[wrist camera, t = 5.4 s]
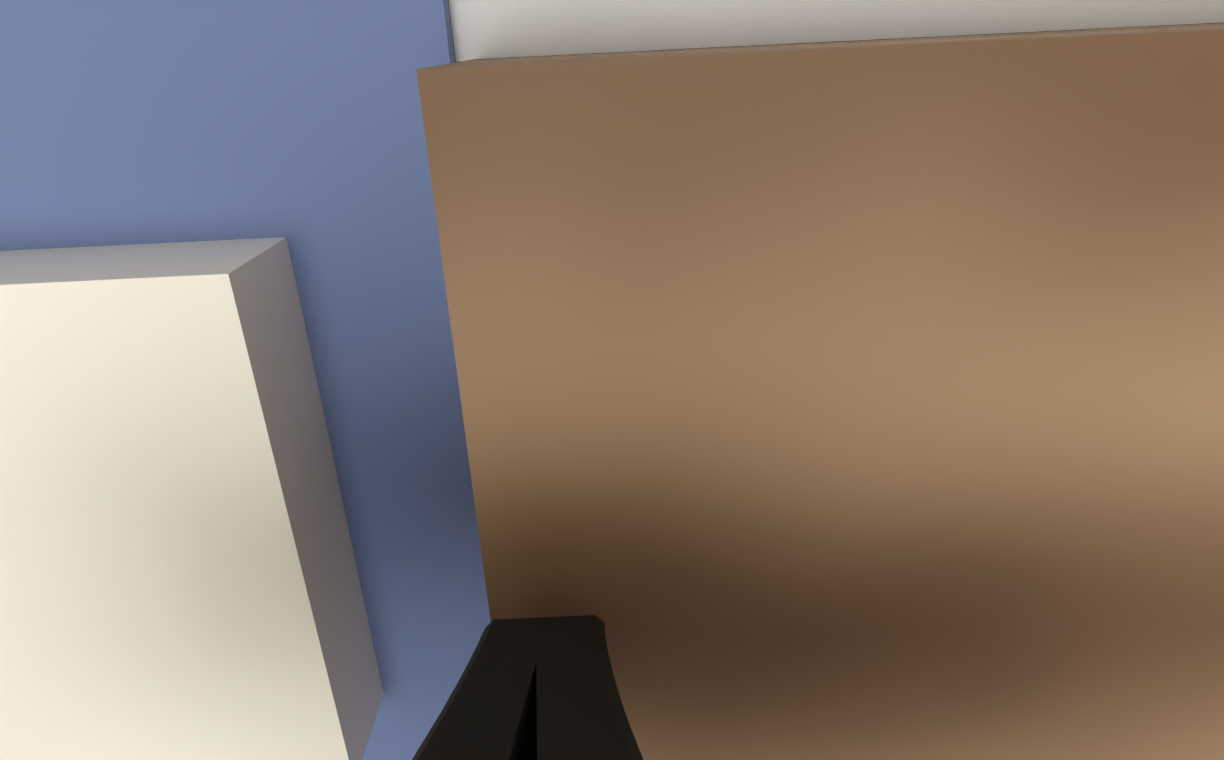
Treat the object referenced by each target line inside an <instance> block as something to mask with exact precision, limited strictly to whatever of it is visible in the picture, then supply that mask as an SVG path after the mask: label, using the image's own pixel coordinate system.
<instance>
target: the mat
mask: <svg viewBox="0 0 1224 760" xmlns="http://www.w3.org/2000/svg"><path fill="white" fill-rule="evenodd" d="M451 63H455V56H454V48H453V39H452V30H451V22H450V13H449V5H448V0H0V251H10V250H30V249H51V248H71V247H92V246H112V245H133V244H153V243H173V242H194V241H214V240H235V239H255V238H276V237H286V238H287V243H288V248H289V253H290V257H291V262H292V267H293V271H294V276H295V281H296V285H297V290H298V295H299V299H300V304H301V309H302V313H303V318H304V323H305V327H306V332H307V337H308V341H309V346H310V351H311V356H312V360H313V365H314V370H315V374H316V379H317V384H318V388H319V393H320V398H321V402H322V407H323V412H324V416H325V421H326V426H327V430H328V435H329V440H330V444H331V449H332V454H333V459H334V463H335V468H336V473H337V477H338V482H339V487H340V491H341V496H342V501H343V505H344V510H345V515H346V519H347V524H348V529H349V533H350V538H351V543H352V547H353V552H354V557H355V562H356V566H357V571H358V576H359V580H360V585H361V590H362V594H363V599H364V604H365V608H366V613H367V618H368V622H369V627H370V632H371V636H372V641H373V646H374V650H375V655H376V660H377V665H378V669H379V674H380V679H381V683H382V688H383V693H384V694H383V697H382V700H381V704H380V707H379V710H378V713H377V716H376V719H375V722H374V725H373V728H372V731H371V734H370V737H369V740H368V743H367V746H366V749H365V752H364V756H363V759H362V760H412V759H413V757H414V755H415V754H416V752H417V750H418V749H419V747H420V746H421V744H422V742H423V741H424V739H425V737H426V736H427V734H428V733H429V731H430V729H431V728H432V726H433V724H434V723H435V721H436V719H437V718H438V716H439V715H440V713H441V711H442V709H443V708H444V706H445V704H446V702H447V701H448V699H449V697H450V695H451V693H452V692H453V690H454V688H455V686H456V685H457V683H458V681H459V679H460V677H461V675H462V674H463V672H464V670H465V668H466V666H467V664H468V662H469V660H470V658H471V656H472V654H473V652H474V650H475V648H476V646H477V644H478V642H479V640H480V638H481V636H482V634H483V631H484V629H485V627H486V626H487V625H489V624H490V623H491V621H490V613H489V606H488V599H487V591H486V584H485V576H484V569H483V561H482V554H481V547H480V539H479V532H478V524H477V517H476V509H475V502H474V495H473V487H472V480H471V472H470V465H469V458H468V450H467V443H466V435H465V428H464V420H463V413H462V406H461V398H460V391H459V383H458V376H457V368H456V361H455V354H454V346H453V339H452V331H451V324H450V316H449V309H448V302H447V294H446V287H445V279H444V272H443V264H442V257H441V250H440V242H439V235H438V227H437V220H436V212H435V205H434V198H433V190H432V183H431V175H430V168H429V160H428V153H427V146H426V138H425V131H424V123H423V116H422V108H421V101H420V94H419V86H418V79H417V71H416V69H421V68H427V67H433V66H439V65H445V64H451Z"/></svg>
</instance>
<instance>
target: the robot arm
mask: <svg viewBox="0 0 1224 760" xmlns="http://www.w3.org/2000/svg"><path fill="white" fill-rule="evenodd" d="M412 760H643V757H642V755H641V752H640V750H639V747H638V745H637V742H636V739H635V737H634V734H633V732H632V729H631V727H630V724H629V721H628V719H627V716H626V713H625V710H624V707H623V704H622V701H621V698H620V695H619V691H618V688H617V685H616V682H615V678H614V675H613V671H612V667H611V663H610V659H609V654H608V649H607V643H606V637H605V622H603V621H602V620H601V619H600V618H598V617H597V616H596V615H582V616H560V617H538V618H516V619H494V620H493V621H492V622H491V623H490V624H489V625H487V626H486V627H485V629H484V631H483V634H482V636H481V638H480V640H479V642H478V644H477V646H476V648H475V650H474V652H473V654H472V656H471V658H470V660H469V662H468V664H467V666H466V668H465V670H464V672H463V674H462V675H461V677H460V679H459V681H458V683H457V685H456V686H455V688H454V690H453V692H452V693H451V695H450V697H449V699H448V701H447V702H446V704H445V706H444V708H443V709H442V711H441V713H440V715H439V716H438V718H437V719H436V721H435V723H434V724H433V726H432V728H431V729H430V731H429V733H428V734H427V736H426V737H425V739H424V741H423V742H422V744H421V746H420V747H419V749H418V750H417V752H416V754H415V755H414V757H413V759H412Z"/></svg>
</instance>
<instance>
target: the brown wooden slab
mask: <svg viewBox="0 0 1224 760" xmlns="http://www.w3.org/2000/svg"><path fill="white" fill-rule="evenodd" d="M416 71H417V79H418V86H419V94H420V101H421V108H422V116H423V123H424V131H425V138H426V146H427V153H428V160H429V168H430V175H431V183H432V190H433V198H434V205H435V212H436V220H437V227H438V235H439V242H440V250H441V257H442V264H443V272H444V279H445V287H446V294H447V302H448V309H449V316H450V324H451V331H452V339H453V346H454V354H455V361H456V368H457V376H458V383H459V391H460V398H461V406H462V413H463V420H464V428H465V435H466V443H467V450H468V458H469V465H470V472H471V480H472V487H473V495H474V502H475V509H476V517H477V524H478V532H479V539H480V547H481V554H482V561H483V569H484V576H485V584H486V591H487V599H488V606H489V613H490V621H491V622H492V621H493V620H494V619H516V618H538V617H560V616H582V615H596V616H597V617H598V618H600V619H601V620H602V621H603V622H605V637H606V643H607V649H608V654H609V659H610V663H611V667H612V671H613V675H614V678H615V682H616V685H617V688H618V691H619V695H620V698H621V701H622V704H623V707H624V710H625V713H626V716H627V719H628V721H629V724H630V727H631V729H632V732H633V734H634V737H635V739H636V742H637V745H638V747H639V750H640V752H641V755H642V757H643V760H1224V23H1206V24H1186V25H1165V26H1145V27H1125V28H1104V29H1084V30H1063V31H1043V32H1023V33H1002V34H982V35H961V36H941V37H921V38H900V39H880V40H859V41H839V42H819V43H798V44H778V45H757V46H737V47H717V48H696V49H676V50H655V51H635V52H615V53H594V54H574V55H553V56H533V57H513V58H492V59H475V60H469V61H463V62H457V63H451V64H445V65H439V66H433V67H427V68H421V69H416Z"/></svg>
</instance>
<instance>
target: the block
mask: <svg viewBox="0 0 1224 760" xmlns="http://www.w3.org/2000/svg"><path fill="white" fill-rule="evenodd" d="M383 694H384V693H383V688H382V683H381V679H380V674H379V669H378V665H377V660H376V655H375V650H374V646H373V641H372V636H371V632H370V627H369V622H368V618H367V613H366V608H365V604H364V599H363V594H362V590H361V585H360V580H359V576H358V571H357V566H356V562H355V557H354V552H353V547H352V543H351V538H350V533H349V529H348V524H347V519H346V515H345V510H344V505H343V501H342V496H341V491H340V487H339V482H338V477H337V473H336V468H335V463H334V459H333V454H332V449H331V444H330V440H329V435H328V430H327V426H326V421H325V416H324V412H323V407H322V402H321V398H320V393H319V388H318V384H317V379H316V374H315V370H314V365H313V360H312V356H311V351H310V346H309V341H308V337H307V332H306V327H305V323H304V318H303V313H302V309H301V304H300V299H299V295H298V290H297V285H296V281H295V276H294V271H293V267H292V262H291V257H290V253H289V248H288V243H287V238H286V237H276V238H255V239H235V240H214V241H194V242H173V243H153V244H133V245H112V246H92V247H71V248H51V249H30V250H10V251H0V760H362V759H363V756H364V752H365V749H366V746H367V743H368V740H369V737H370V734H371V731H372V728H373V725H374V722H375V719H376V716H377V713H378V710H379V707H380V704H381V700H382V697H383Z"/></svg>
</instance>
